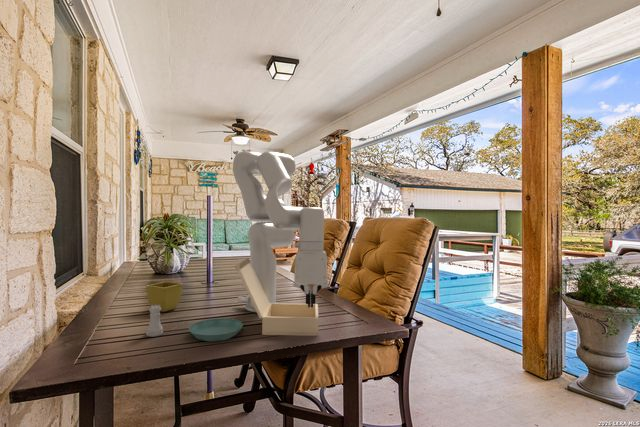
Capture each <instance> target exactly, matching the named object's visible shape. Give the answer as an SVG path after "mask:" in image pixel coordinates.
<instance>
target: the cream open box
mask: <svg viewBox="0 0 640 427" xmlns="http://www.w3.org/2000/svg"><path fill="white" fill-rule="evenodd" d="M261 319H262V320H261V321H262V323H261V324H262V325H261V328H262V330H261V332H262V333H261V335H264V336H314V337H315V336H319V305H318V303H315V304H313V308H311V303H310V307H308V304H306V303H290V302H289V303H281V302H276V303H269V305H268V307H267V309H266V311H265V313H264V315H263V317H262V318H261Z"/></svg>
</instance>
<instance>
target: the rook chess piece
mask: <svg viewBox="0 0 640 427" xmlns="http://www.w3.org/2000/svg"><path fill="white" fill-rule="evenodd" d="M149 306H150V307H149V308H148V309H149V310H148V311H149V312H150V314H149V317H150V319H149V324H148V326H147V328H146V333H145V335H146V336H147V337H148V338H149V337H150V338H151V337H152V338H153V337H154V338H155V337H160V336H161V335H163V334H164V327H163V326H162V324H161V317H160V316H161V313H160V312H162V311H161V309H162V308H161V307H160V305H158V306H156V305H154V307H153V305H152V306H151V305H149Z"/></svg>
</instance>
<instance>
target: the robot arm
mask: <svg viewBox="0 0 640 427" xmlns="http://www.w3.org/2000/svg"><path fill="white" fill-rule="evenodd" d="M295 171H296V161H295V159H294V158H293V157H292V156H291V155H289V154H286V153H283V152H282V153H281V152H275V151H264V152H256V151H251V150H249V151H248V150H246V151H245V150H243V151H240V152H238V153H236V154H235V155H234V157H233V161H232V172H233V173H232V174H233V177H234V179H235V181H236V184H237V186H238V188H239V191H240V193H241V197H242V200H243V201H242V202H243V204H244V205H243V206H244V209H245V213H246V216H247V217H248V220H250V221H252V222H255V223H253V224H252V225H251V226H250V227H249V229H248V231H247V236H248V237H247V238H248V244H249V252H250V259H249V260H250V262H251V265H252V267H253V269H254V271H255V273H256V275H257V277H258V279H259V281H260V284H261V286H262V288H263V290H264V292H265V294H266V296H267V298H268V300H269V303H277V300H276V298H277V296H276V294H277V264H278V263H277V257H276V255H275V252H274V251H273V249H274V248H286V247H289V246H290V245H292V243H293V241H294V239H295V231H299V239H298V242H294V248H296V249H299V250H297V251H296V253H295V258H294V259H295V261H294V274H293V278H294V279H293V287H294V288H296V289H297V288H298V289H301V291H303V292H304V294H305V304H308V307H310V304H311V308H313V304H316V294H317V293H318V292H320V290H322V289H326V288H328V287H329V283H328V279H329V278H328V272H329V271H328V257H327V256H328V255H327V252H326V251H325V250H324V249H325V248H324V247H325V246H324V242H325V241H324V237H325V236H324V235H325V230H324V229H325V211H324V209H323V208H322V207H316V206H315V207H314V206H313V207H312V206H306V207H303V206H287V205H286V204H285V202H284V201H283V200H282V199H280V198H279V197H281V196H283V195H285V194H287V193H288V192H289V191H290V190H291V189H292V186H293V180H292V179H291V176H293V175H294V173H295ZM254 175H260V176H261V177H262V178H263V180H264V183H265V185H266V187H267V189H268V191H267V193H265V191H264V187H263V185H262V184H261V182H260V181H259V180H258V178H257V177H256V176H254ZM272 248H273V249H272ZM309 286H313V287H312V290H311V291H310V288H309ZM237 302H239V303H241V304H243V303H244V304H245V305H244V309H245V310H246V311H247V312H251V313H257V311H256V309H255V307H254V305H253V303H252V301H251V299H250V297H249V295H246V296H237Z"/></svg>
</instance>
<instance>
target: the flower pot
mask: <svg viewBox="0 0 640 427" xmlns="http://www.w3.org/2000/svg"><path fill="white" fill-rule="evenodd" d="M183 285H184V283H181V282H170V281H162V282H161V281H160V282H156V283H152V284H148V285H146V286H145V287H146V295H147V300H148V302H149V303H148V304H149V306H152V305H153V307H154V305H156V306H158V305H160V307H161V308H162V309H161V311H160V312H162V313H163V312H164V313H165V312H169V311H172V310H174V309H176V308H177V306H178V305H179V303H180V302H181V299H182V293H183V289H184V288H183Z"/></svg>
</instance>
